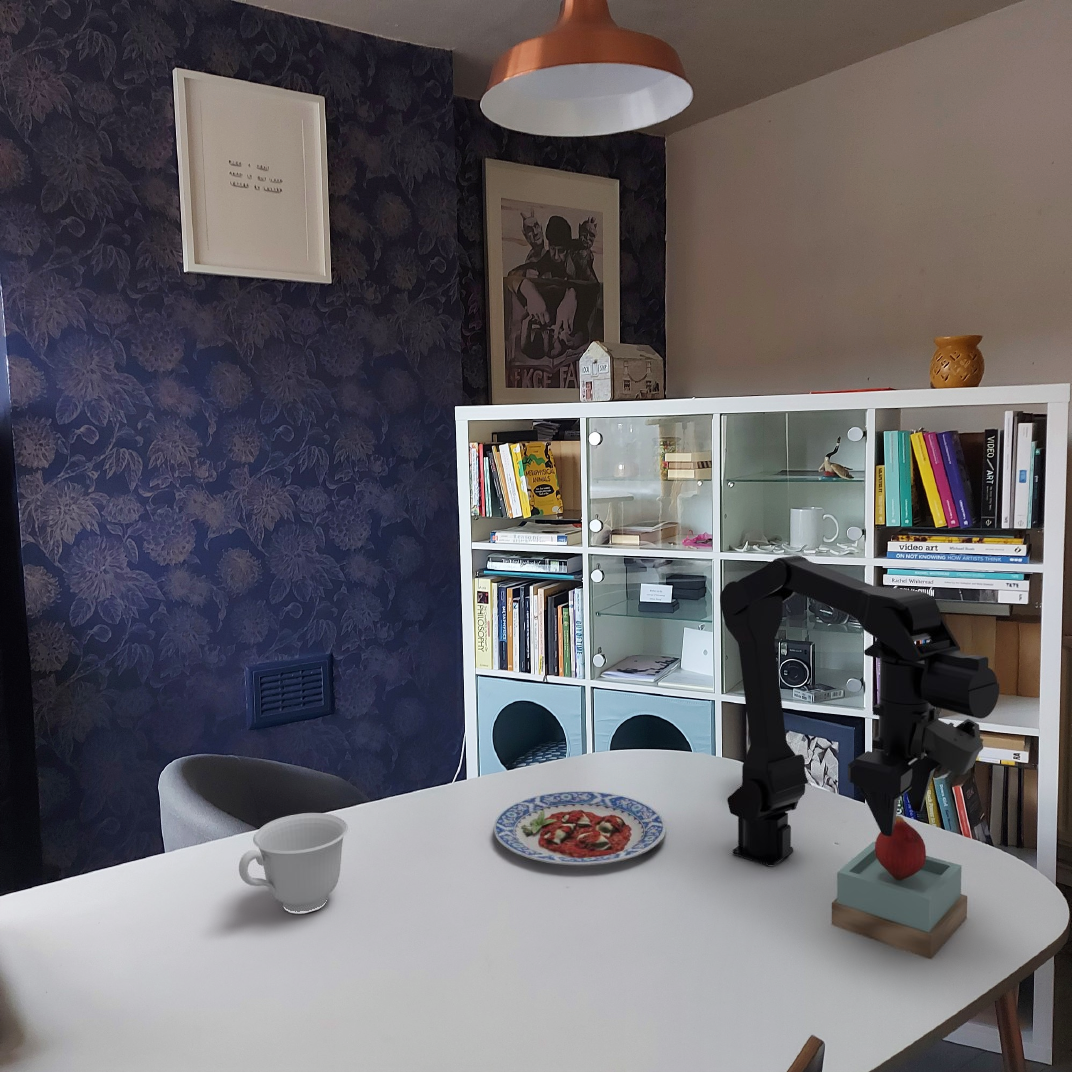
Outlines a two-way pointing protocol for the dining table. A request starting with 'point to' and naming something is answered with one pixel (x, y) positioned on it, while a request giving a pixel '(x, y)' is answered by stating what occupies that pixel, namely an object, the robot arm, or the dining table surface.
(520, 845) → the ceramic plate
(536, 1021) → the dining table surface
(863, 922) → the bottom block
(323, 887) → the teacup
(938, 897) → the top block
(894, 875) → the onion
